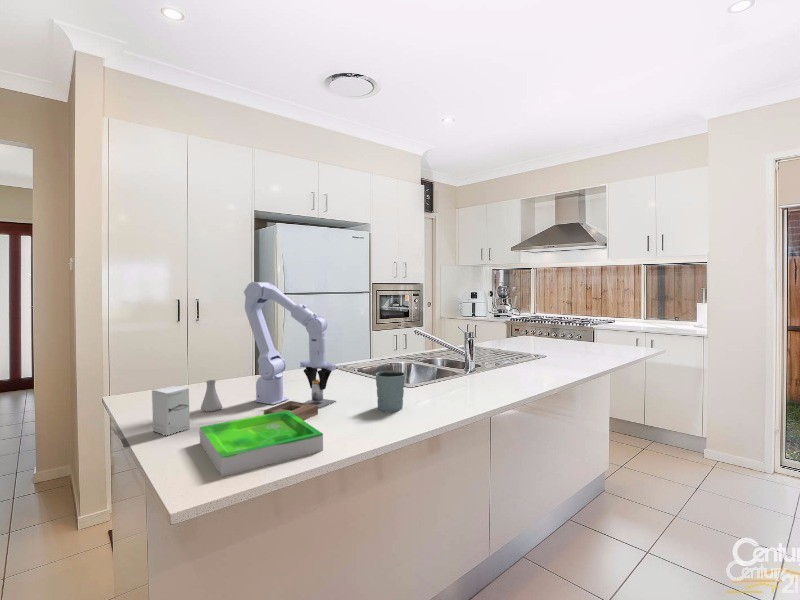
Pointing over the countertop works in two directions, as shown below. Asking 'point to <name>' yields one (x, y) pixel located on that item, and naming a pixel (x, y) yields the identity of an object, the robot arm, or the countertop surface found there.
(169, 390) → the supplement box
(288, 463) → the countertop surface
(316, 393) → the glass jar
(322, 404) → the mat
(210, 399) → the flask
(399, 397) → the grey cup
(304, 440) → the tray
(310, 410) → the housing
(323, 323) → the robot arm
